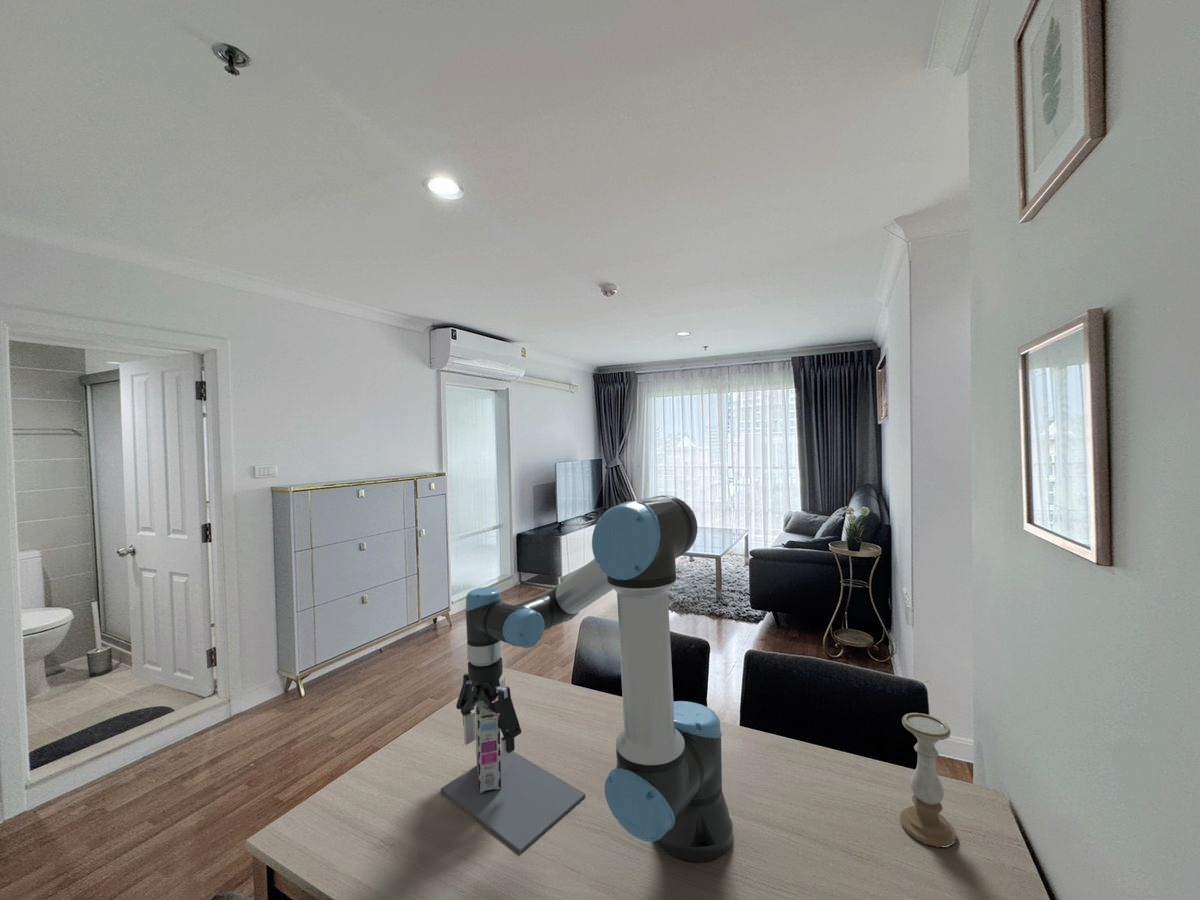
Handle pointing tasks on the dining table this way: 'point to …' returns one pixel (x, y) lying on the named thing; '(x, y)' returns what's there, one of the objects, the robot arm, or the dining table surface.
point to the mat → (516, 801)
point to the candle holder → (927, 784)
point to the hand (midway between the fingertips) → (488, 753)
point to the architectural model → (502, 683)
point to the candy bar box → (487, 748)
